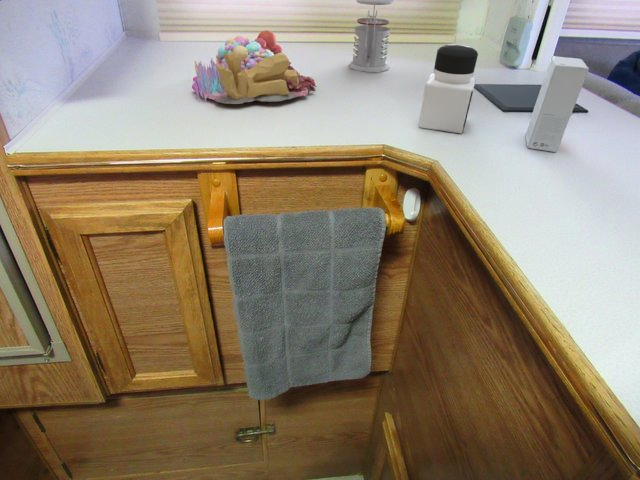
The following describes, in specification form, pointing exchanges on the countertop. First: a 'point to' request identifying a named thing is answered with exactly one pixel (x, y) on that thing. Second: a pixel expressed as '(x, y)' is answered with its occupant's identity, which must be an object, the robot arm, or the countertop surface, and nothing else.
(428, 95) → the medicine bottle
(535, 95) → the slate mat
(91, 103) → the countertop surface
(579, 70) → the cosmetic box
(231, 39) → the candy landscape model
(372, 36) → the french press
